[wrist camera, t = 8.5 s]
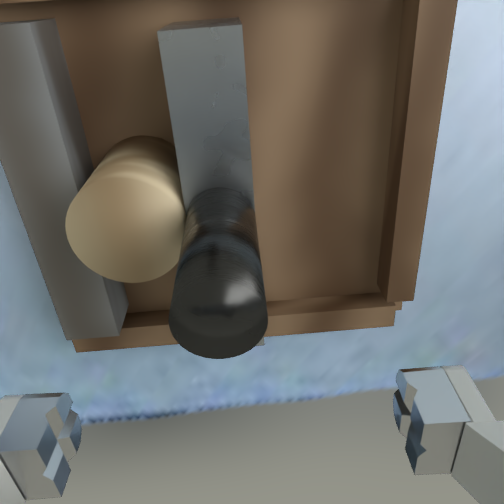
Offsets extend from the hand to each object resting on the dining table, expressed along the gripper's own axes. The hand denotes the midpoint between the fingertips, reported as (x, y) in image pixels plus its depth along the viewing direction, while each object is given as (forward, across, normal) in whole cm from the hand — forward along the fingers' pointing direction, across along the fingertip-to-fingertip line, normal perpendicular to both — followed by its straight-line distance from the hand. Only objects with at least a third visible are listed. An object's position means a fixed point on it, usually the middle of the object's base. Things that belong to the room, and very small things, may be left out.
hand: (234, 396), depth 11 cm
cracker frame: (+16, +1, 0) cm, 16 cm away
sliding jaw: (+15, +1, 0) cm, 15 cm away
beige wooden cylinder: (+15, +5, 0) cm, 16 cm away
